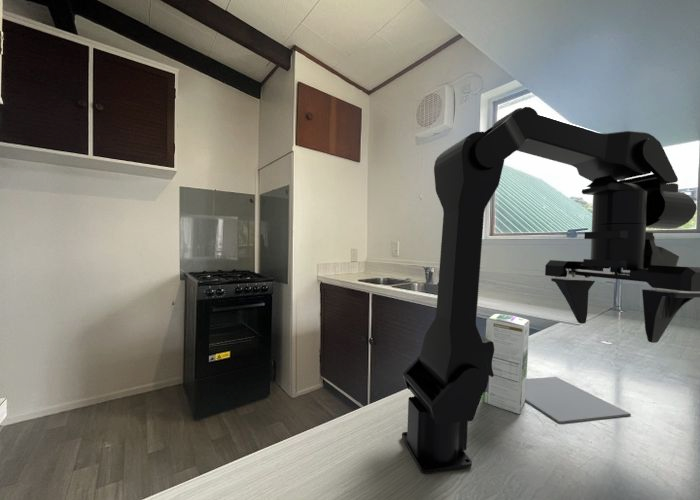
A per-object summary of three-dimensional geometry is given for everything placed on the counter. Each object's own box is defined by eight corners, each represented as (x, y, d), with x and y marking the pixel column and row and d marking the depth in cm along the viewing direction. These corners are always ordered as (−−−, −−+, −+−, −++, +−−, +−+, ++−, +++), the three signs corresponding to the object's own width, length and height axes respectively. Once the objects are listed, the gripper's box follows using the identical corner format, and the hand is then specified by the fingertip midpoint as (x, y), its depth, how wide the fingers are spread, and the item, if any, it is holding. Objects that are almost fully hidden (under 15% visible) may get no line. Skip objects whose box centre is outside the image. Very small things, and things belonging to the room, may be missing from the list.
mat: (559, 423, 42) (559, 421, 42) (497, 382, 55) (497, 380, 55) (630, 415, 45) (630, 413, 45) (555, 378, 57) (555, 376, 57)
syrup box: (489, 389, 52) (492, 312, 51) (526, 401, 48) (530, 318, 48) (481, 402, 47) (484, 317, 47) (521, 416, 43) (525, 324, 43)
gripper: (761, 223, 33) (756, 354, 33) (595, 231, 51) (592, 315, 51) (690, 217, 31) (684, 357, 31) (544, 228, 49) (540, 316, 49)
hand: (613, 331), depth 41 cm, fingers open, 9 cm apart
